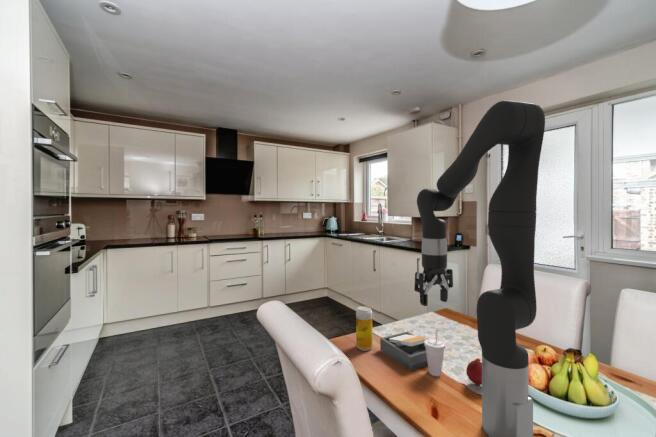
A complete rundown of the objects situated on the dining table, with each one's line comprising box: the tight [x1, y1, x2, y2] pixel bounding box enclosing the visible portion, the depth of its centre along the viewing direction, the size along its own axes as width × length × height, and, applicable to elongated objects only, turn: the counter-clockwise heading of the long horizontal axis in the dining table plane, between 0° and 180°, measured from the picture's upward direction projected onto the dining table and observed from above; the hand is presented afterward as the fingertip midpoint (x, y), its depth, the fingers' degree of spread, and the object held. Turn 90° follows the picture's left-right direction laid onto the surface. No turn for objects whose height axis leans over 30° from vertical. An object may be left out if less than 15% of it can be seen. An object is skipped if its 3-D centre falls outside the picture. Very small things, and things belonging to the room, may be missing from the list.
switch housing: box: [379, 331, 428, 372], centre depth 104 cm, size 16×13×4 cm
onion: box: [465, 357, 482, 386], centre depth 86 cm, size 6×6×8 cm
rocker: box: [389, 334, 430, 347], centre depth 104 cm, size 12×10×2 cm
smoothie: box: [424, 328, 446, 377], centre depth 92 cm, size 6×6×14 cm
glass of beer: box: [355, 305, 374, 352], centre depth 110 cm, size 6×6×15 cm
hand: (434, 303), depth 92 cm, fingers open, 8 cm apart
